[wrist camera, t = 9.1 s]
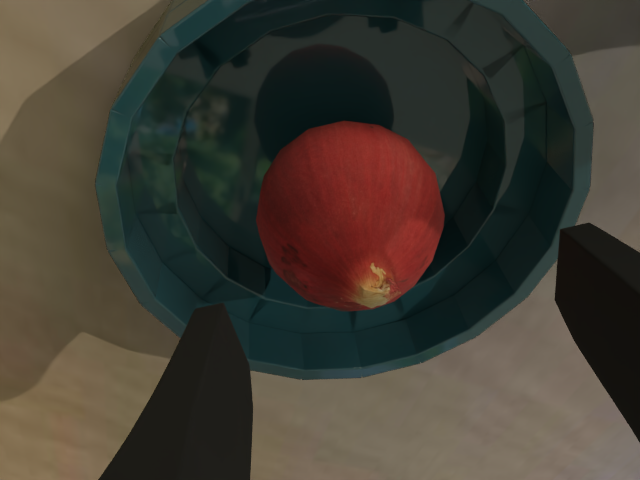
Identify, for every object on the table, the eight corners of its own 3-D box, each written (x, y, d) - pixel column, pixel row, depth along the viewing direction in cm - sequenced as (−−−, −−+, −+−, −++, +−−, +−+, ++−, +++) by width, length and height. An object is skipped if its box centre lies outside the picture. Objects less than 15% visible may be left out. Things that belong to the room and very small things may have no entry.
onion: (358, 242, 24) (400, 401, 17) (229, 190, 21) (222, 349, 15) (442, 126, 21) (528, 264, 14) (303, 53, 19) (332, 176, 12)
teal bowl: (593, -60, 18) (680, -29, 14) (479, 299, 27) (515, 373, 23) (92, -94, 16) (47, -68, 13) (148, 304, 25) (131, 386, 21)
